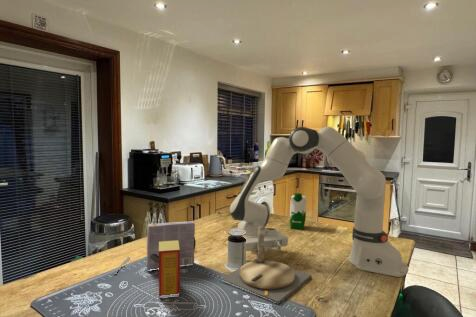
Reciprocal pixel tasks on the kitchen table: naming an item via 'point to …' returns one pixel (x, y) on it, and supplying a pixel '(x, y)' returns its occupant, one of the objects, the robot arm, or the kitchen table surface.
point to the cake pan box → (169, 233)
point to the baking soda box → (169, 267)
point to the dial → (266, 270)
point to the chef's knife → (126, 261)
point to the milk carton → (297, 211)
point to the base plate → (271, 294)
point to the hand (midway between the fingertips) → (272, 248)
